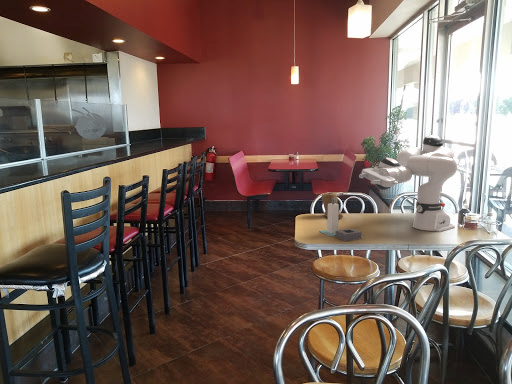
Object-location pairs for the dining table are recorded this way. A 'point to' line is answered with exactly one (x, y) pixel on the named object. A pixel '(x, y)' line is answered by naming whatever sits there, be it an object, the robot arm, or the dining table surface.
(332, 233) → the mat
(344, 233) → the grey socket block
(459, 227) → the dining table surface
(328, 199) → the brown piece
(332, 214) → the plug
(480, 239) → the dining table surface
